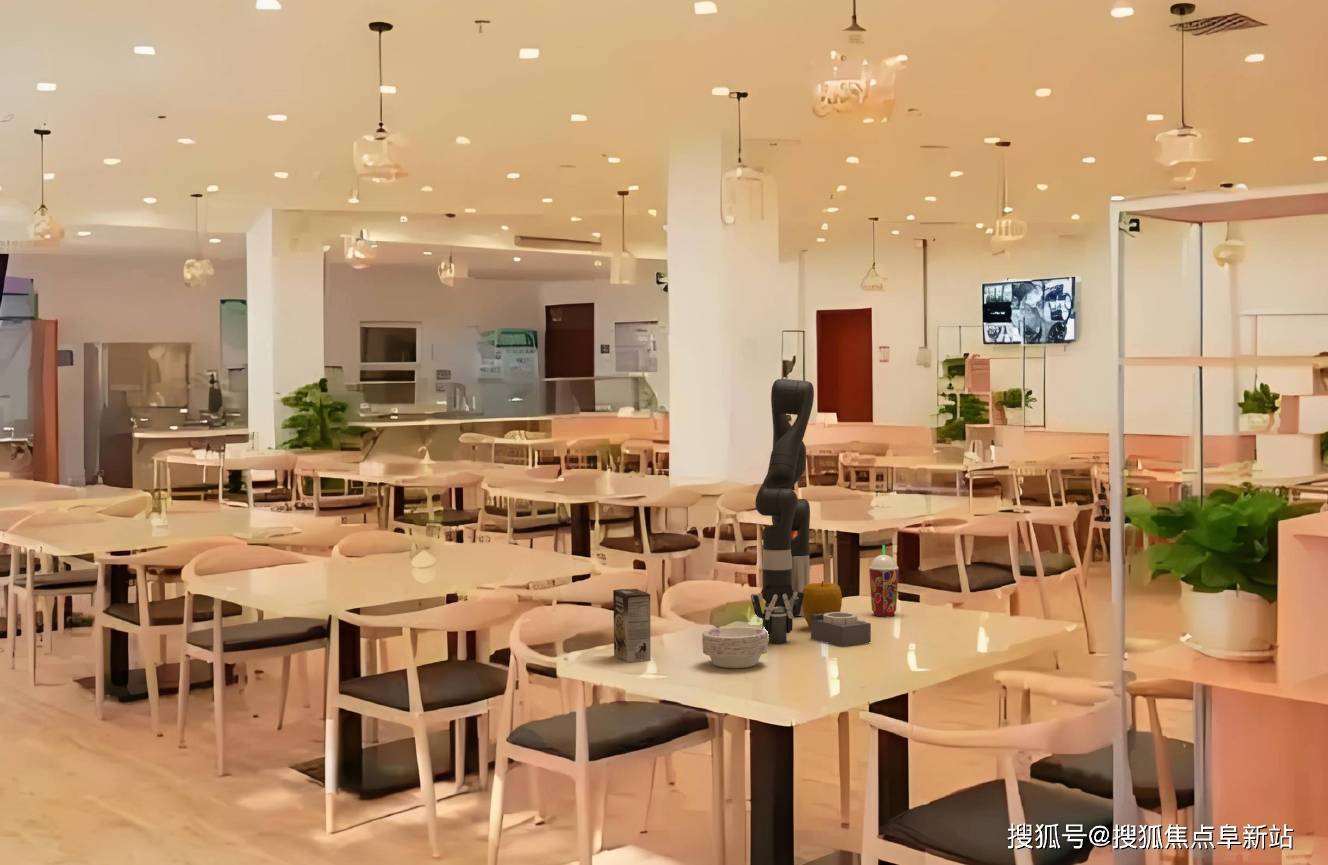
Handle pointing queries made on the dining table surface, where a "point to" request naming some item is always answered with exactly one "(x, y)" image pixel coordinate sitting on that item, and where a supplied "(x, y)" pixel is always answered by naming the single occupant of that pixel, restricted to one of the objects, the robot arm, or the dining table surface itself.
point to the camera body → (840, 628)
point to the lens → (778, 626)
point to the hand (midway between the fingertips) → (777, 633)
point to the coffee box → (631, 624)
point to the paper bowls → (735, 646)
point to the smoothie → (883, 585)
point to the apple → (821, 599)
